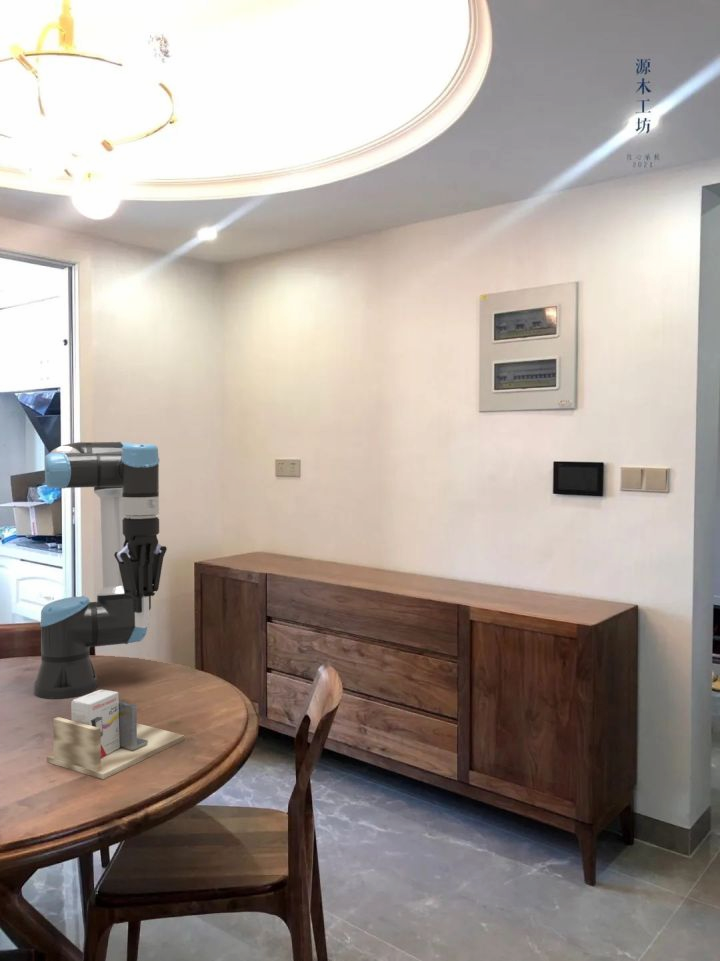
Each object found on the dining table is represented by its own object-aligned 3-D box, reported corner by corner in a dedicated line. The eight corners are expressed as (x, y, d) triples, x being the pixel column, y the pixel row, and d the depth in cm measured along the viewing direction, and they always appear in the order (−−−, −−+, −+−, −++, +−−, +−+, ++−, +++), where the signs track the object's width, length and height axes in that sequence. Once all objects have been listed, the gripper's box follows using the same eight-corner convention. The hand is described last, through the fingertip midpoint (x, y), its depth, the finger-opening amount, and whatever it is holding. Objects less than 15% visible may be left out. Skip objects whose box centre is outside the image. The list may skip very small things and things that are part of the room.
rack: (46, 761, 148) (46, 717, 147) (130, 726, 167) (130, 686, 166) (102, 779, 140) (102, 732, 139) (184, 739, 159) (184, 698, 159)
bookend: (98, 740, 155) (97, 698, 155) (113, 734, 159) (113, 692, 158) (132, 750, 150) (131, 706, 150) (147, 743, 154) (147, 700, 153)
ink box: (90, 764, 144) (89, 704, 143) (70, 760, 146) (69, 701, 146) (121, 748, 152) (120, 691, 151) (102, 744, 154) (101, 688, 154)
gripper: (130, 519, 150) (131, 635, 151) (175, 515, 161) (176, 622, 162) (104, 518, 154) (105, 631, 155) (150, 513, 165) (151, 618, 166)
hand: (142, 626), depth 158 cm, fingers closed
